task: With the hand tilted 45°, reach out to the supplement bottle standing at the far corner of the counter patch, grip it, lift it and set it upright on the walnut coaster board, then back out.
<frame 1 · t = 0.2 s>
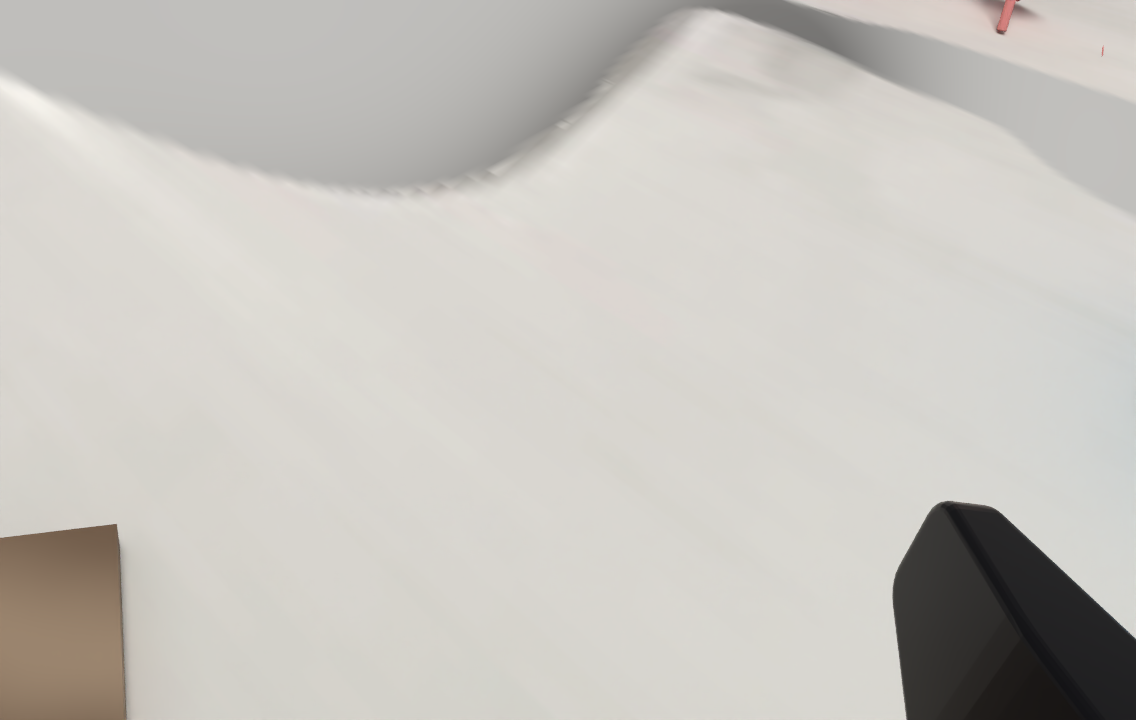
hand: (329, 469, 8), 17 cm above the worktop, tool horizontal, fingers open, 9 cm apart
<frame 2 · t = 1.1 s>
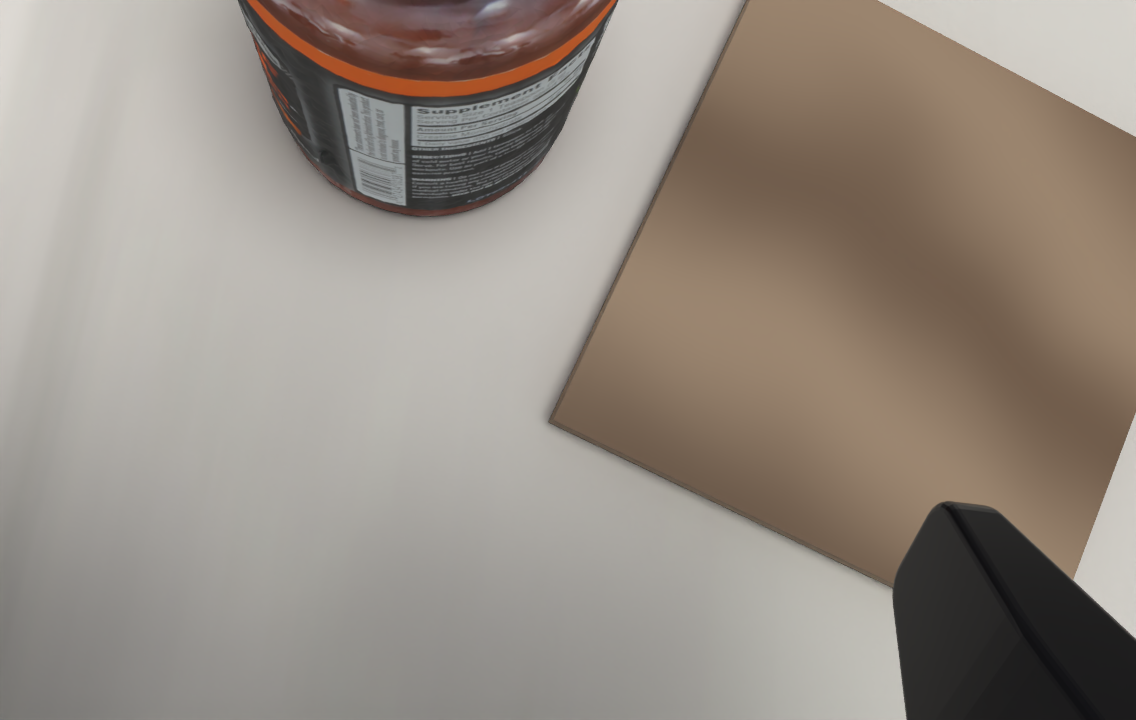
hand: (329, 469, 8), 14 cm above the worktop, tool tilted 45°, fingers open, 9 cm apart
walnut coaster board: (890, 300, 23), on the worktop
supplement bottle: (423, 87, 22), on the worktop
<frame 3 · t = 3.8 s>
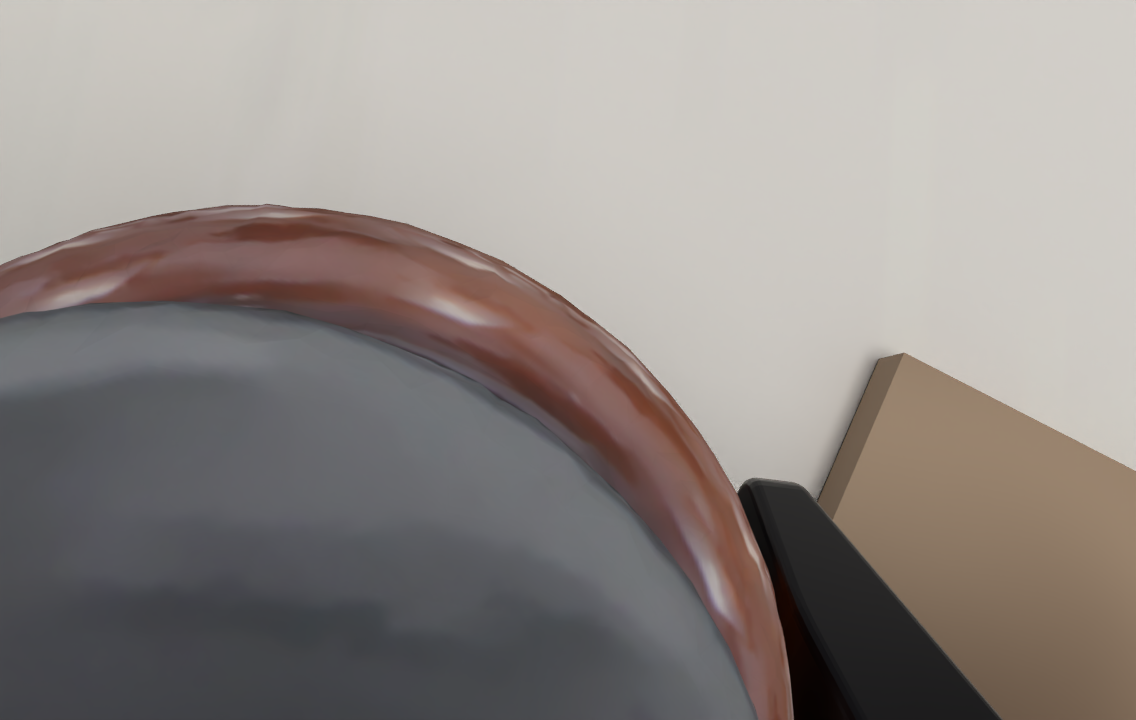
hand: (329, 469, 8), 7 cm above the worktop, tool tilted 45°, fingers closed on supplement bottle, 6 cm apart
supplement bottle: (353, 578, 14), on the worktop, touching gripper
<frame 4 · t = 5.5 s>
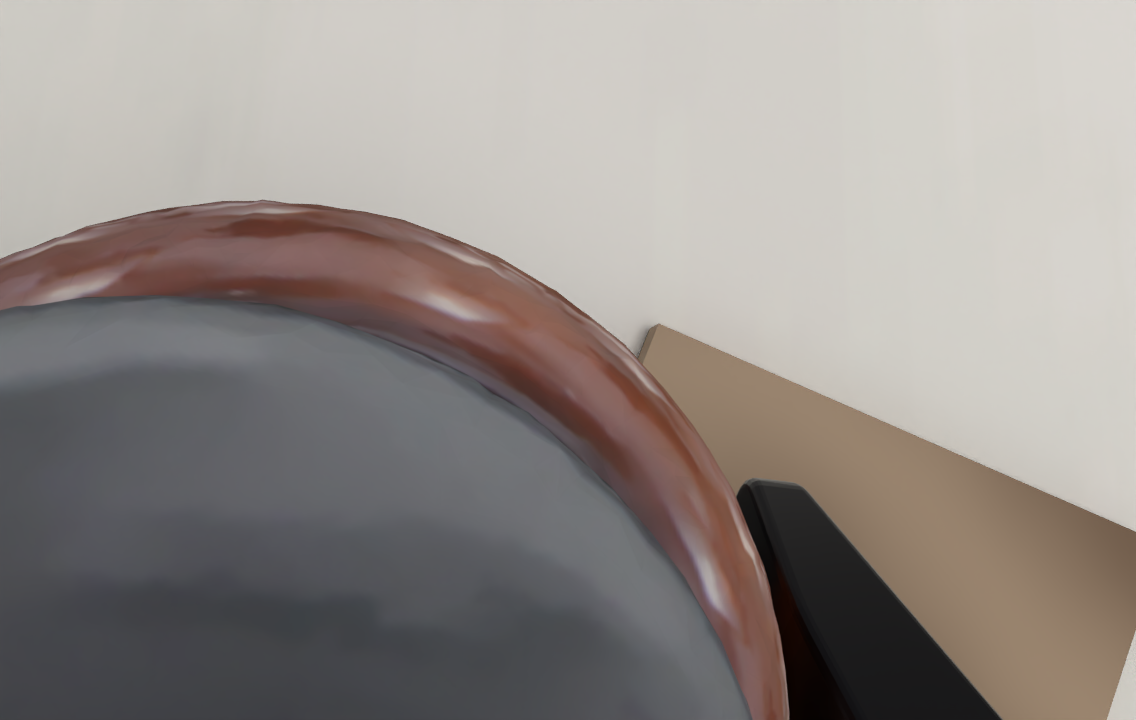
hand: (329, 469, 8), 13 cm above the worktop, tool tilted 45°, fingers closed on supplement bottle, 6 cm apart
walnut coaster board: (803, 700, 21), on the worktop
supplement bottle: (351, 575, 14), point 6 cm above the worktop, touching gripper
when the fingers open (9 cm above the worktop, at t = 7.2 s): supplement bottle drops 1 cm, resting on walnut coaster board.
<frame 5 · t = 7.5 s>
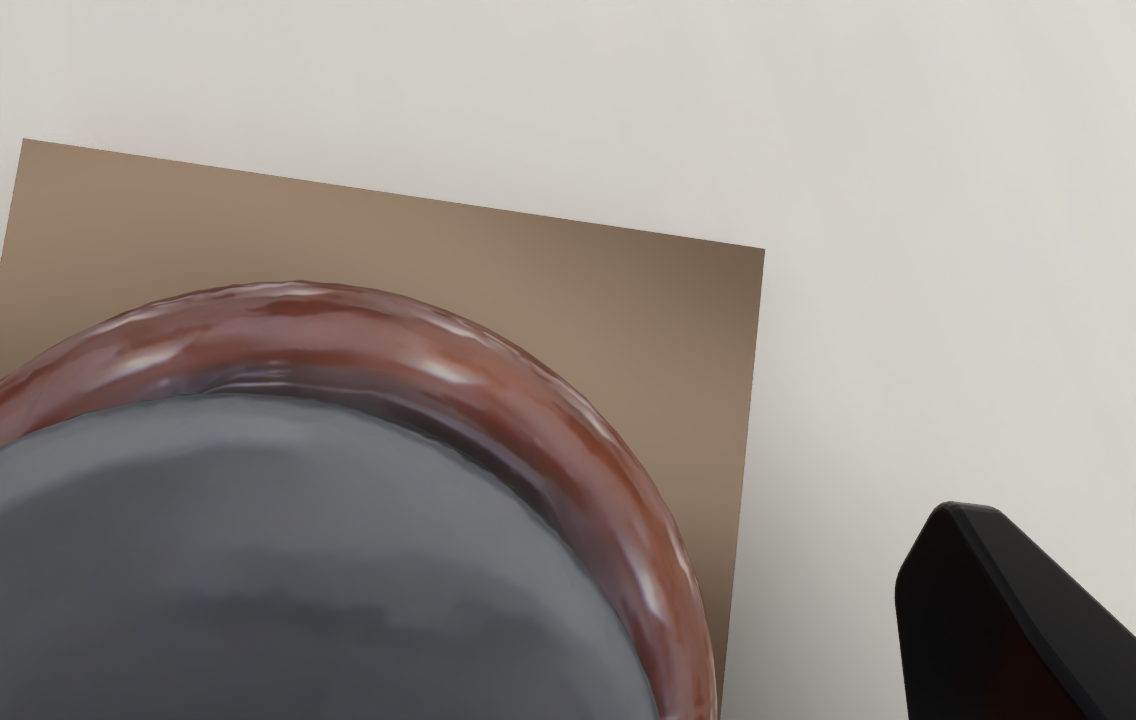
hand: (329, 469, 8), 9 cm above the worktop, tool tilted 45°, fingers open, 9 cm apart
walnut coaster board: (361, 564, 16), on the worktop
supplement bottle: (356, 579, 16), point 1 cm above the worktop, touching walnut coaster board
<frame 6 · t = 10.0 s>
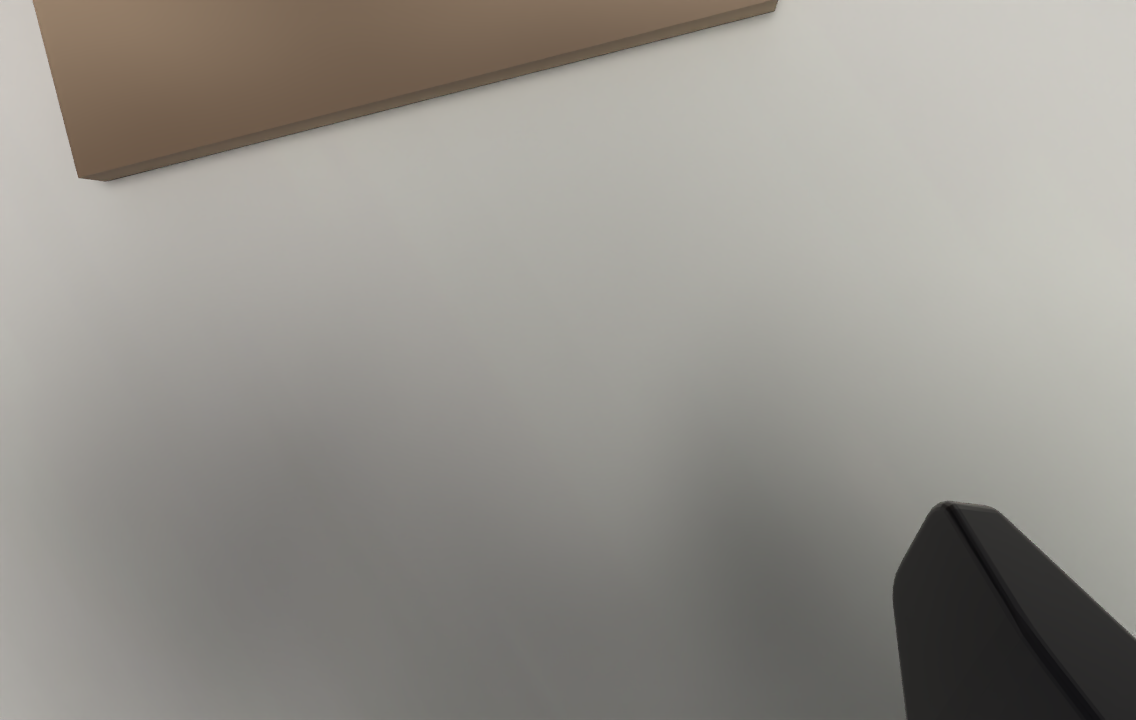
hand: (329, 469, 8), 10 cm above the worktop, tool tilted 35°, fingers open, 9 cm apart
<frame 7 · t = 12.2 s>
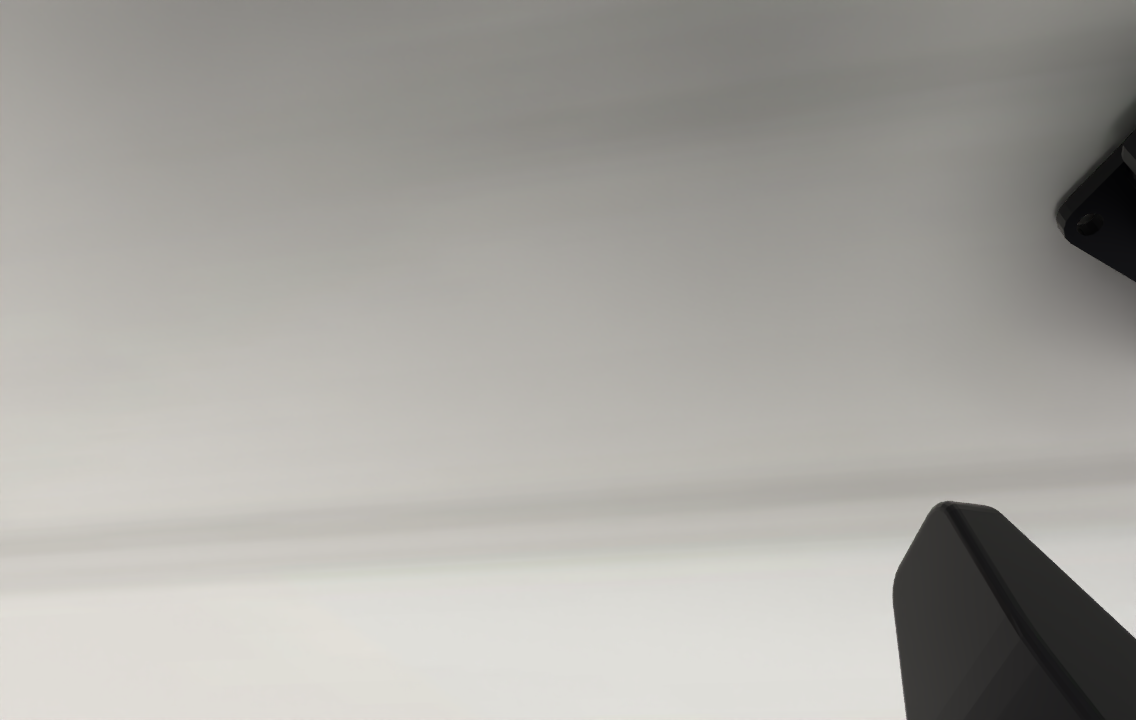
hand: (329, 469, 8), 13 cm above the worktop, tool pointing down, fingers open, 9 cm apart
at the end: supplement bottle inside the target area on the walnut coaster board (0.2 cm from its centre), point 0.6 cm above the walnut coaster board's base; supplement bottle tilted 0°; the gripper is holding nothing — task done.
